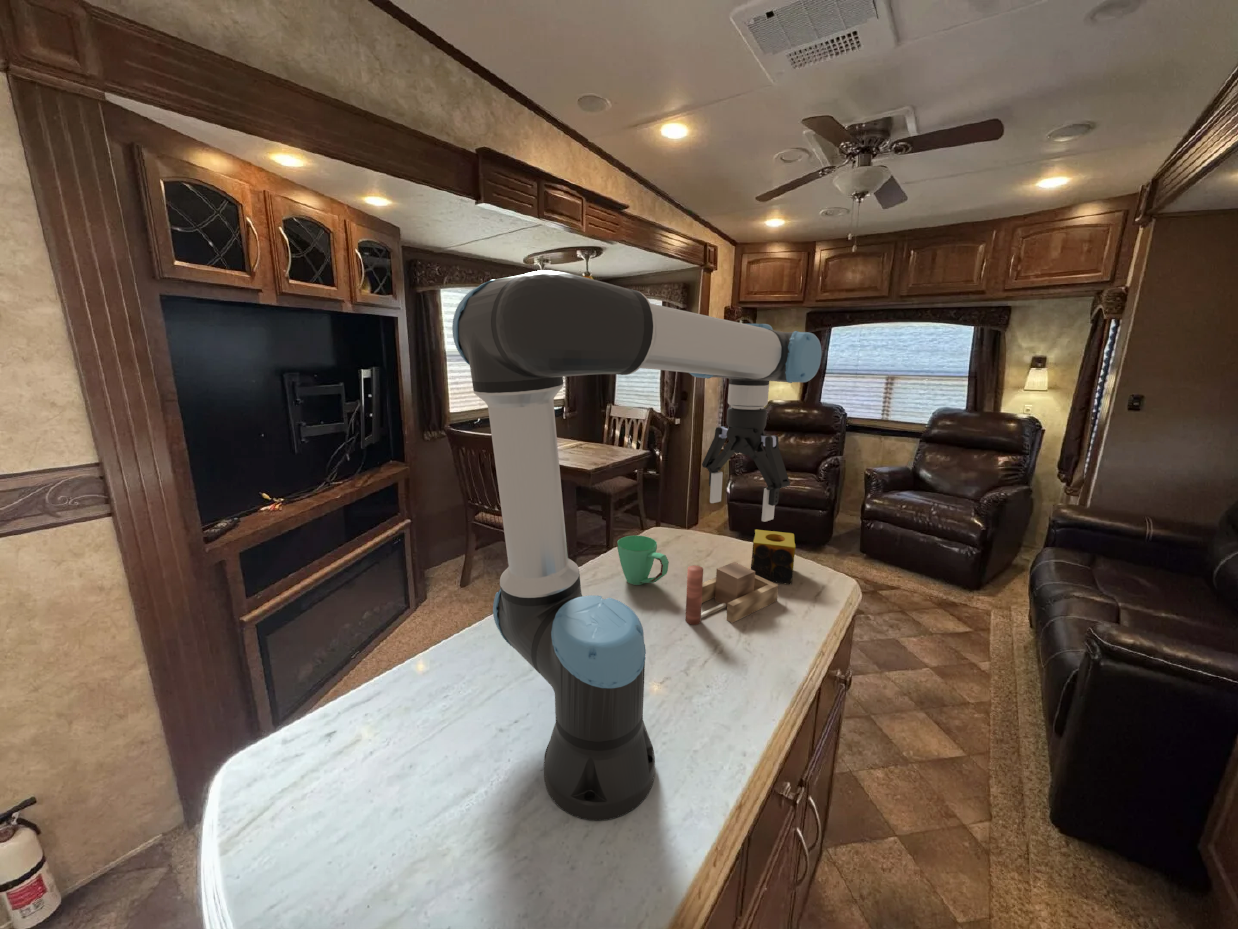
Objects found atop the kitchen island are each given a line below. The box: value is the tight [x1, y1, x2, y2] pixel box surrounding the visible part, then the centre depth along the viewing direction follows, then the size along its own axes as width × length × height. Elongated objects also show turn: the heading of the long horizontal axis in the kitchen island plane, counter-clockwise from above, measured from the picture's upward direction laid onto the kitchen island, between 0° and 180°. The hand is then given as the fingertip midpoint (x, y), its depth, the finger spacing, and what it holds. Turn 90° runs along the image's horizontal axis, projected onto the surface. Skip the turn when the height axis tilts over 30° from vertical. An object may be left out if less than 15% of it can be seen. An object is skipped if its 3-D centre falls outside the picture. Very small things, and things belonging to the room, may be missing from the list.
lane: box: [702, 575, 779, 624], centre depth 110 cm, size 16×11×4 cm
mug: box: [616, 534, 670, 586], centre depth 118 cm, size 15×10×10 cm
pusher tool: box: [685, 561, 755, 626], centre depth 106 cm, size 18×6×12 cm, turn 127°
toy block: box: [750, 529, 796, 585], centre depth 123 cm, size 10×10×10 cm
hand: (740, 510), depth 99 cm, fingers open, 13 cm apart
